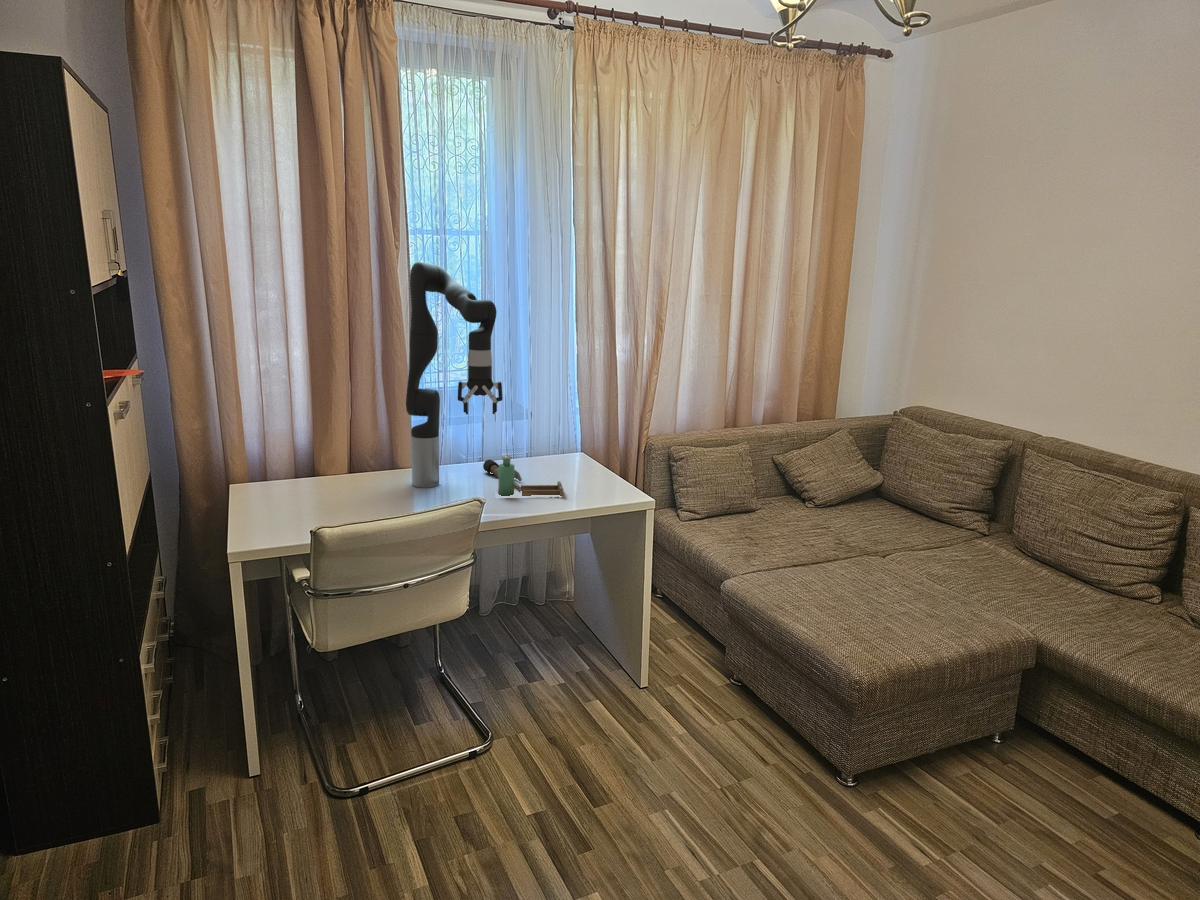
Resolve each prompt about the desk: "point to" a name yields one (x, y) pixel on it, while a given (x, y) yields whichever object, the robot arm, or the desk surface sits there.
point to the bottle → (506, 477)
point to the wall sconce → (494, 468)
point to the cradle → (542, 489)
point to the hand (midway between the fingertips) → (480, 413)
